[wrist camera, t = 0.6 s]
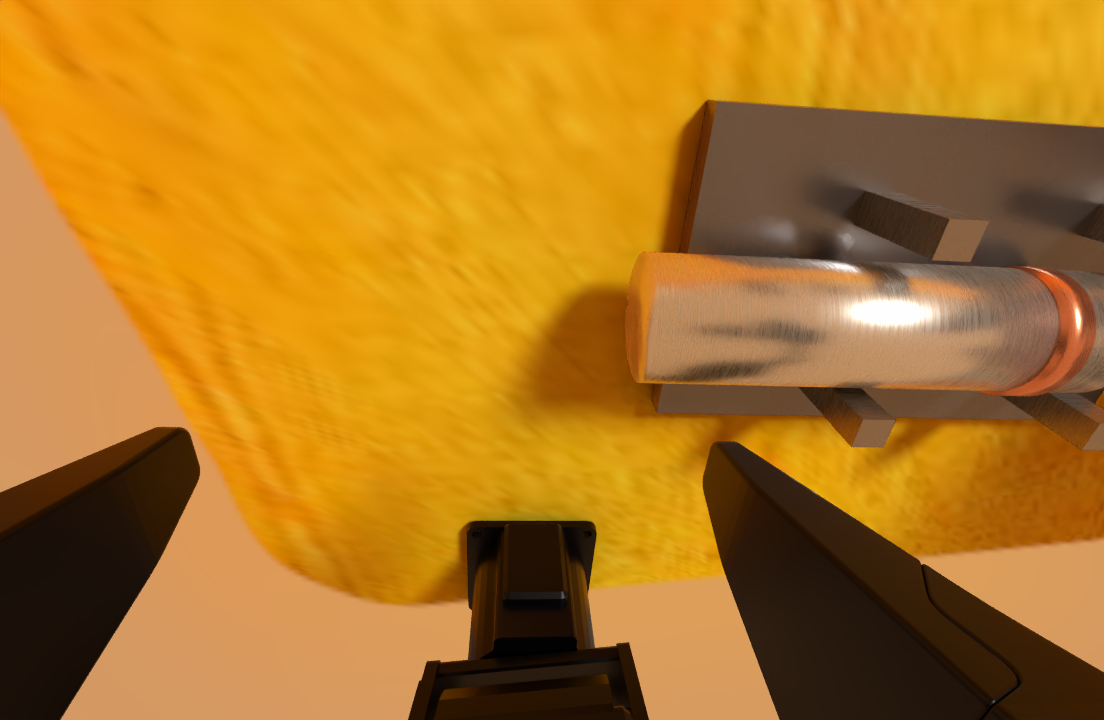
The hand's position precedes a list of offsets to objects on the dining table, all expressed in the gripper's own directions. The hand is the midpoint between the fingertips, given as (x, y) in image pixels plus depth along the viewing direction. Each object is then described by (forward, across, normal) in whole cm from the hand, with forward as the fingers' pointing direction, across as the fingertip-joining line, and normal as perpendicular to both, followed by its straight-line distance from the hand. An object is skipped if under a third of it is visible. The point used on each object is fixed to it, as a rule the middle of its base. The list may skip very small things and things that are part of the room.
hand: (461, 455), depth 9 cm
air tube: (+11, -13, 0) cm, 17 cm away
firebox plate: (+12, -17, 0) cm, 21 cm away
